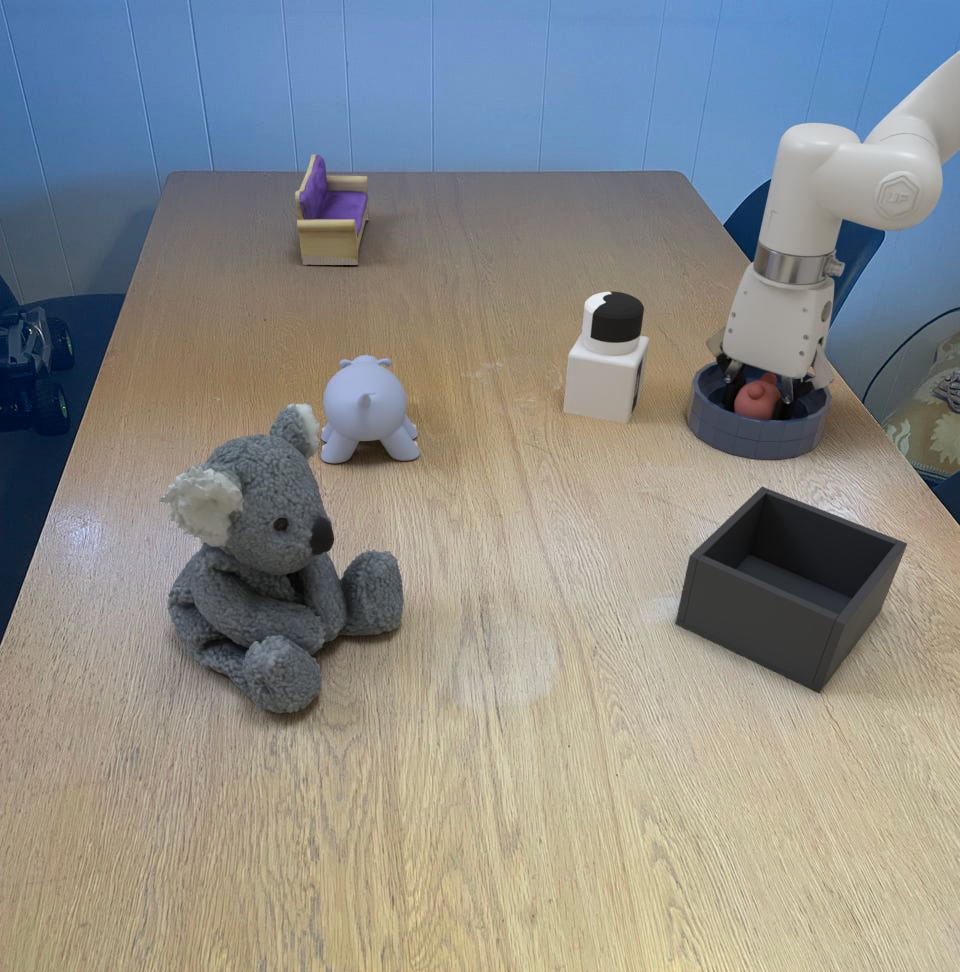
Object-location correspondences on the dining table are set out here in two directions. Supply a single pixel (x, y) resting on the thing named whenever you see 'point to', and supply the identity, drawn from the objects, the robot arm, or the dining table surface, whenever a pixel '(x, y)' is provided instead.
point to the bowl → (754, 419)
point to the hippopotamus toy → (366, 411)
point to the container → (607, 359)
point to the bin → (788, 586)
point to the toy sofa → (331, 212)
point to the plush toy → (758, 398)
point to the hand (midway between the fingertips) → (754, 419)
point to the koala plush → (271, 567)
